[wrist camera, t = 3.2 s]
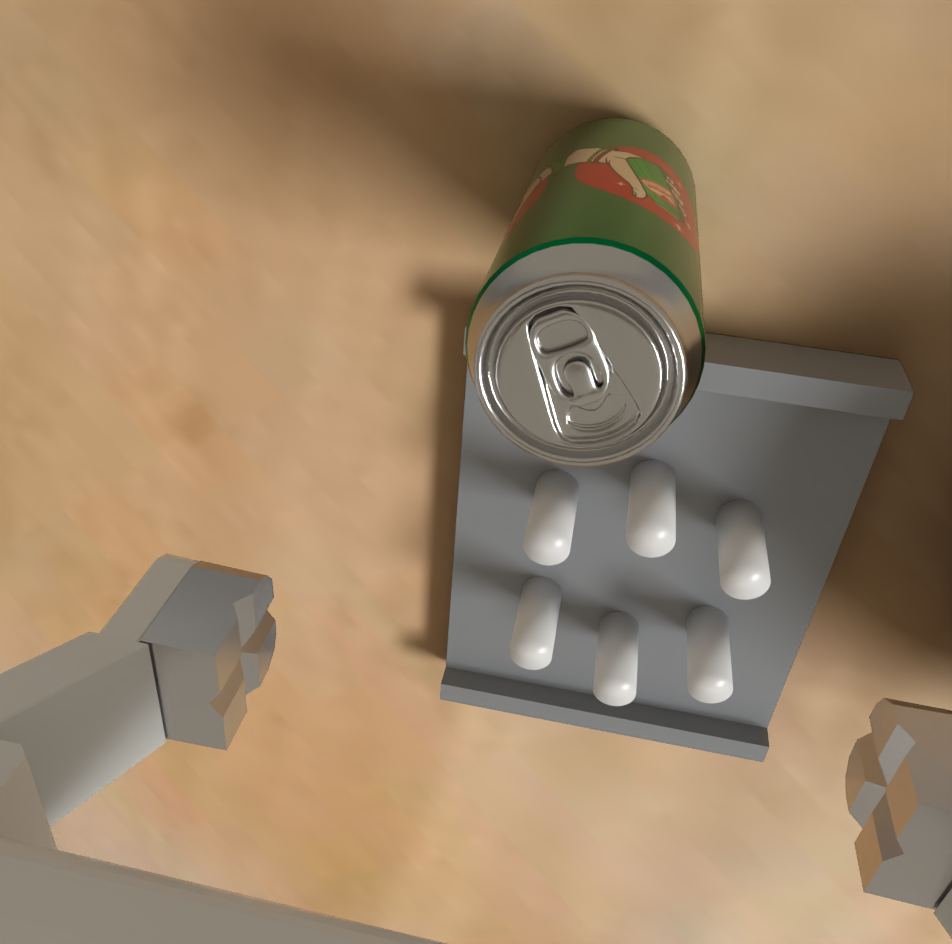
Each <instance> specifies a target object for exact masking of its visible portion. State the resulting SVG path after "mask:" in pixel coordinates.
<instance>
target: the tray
mask: <svg viewBox="0 0 952 944" xmlns="http://www.w3.org/2000/svg"><path fill="white" fill-rule="evenodd" d="M466 326H467V324H466ZM466 326H465V334H464V349H463V355H466V351H465V336H466ZM705 343H706V352H705V363H704V369H703V372H702V376H701V379H700V383H699V385H698V387H697V389H696V391H695V393H694V396H693V398H692V399H691V401H690V402H689V404H688V405H687V406H686V408H685V409H684V411H683V412H682V413H681V414H680V415H679V416H678V417H677V418H676V419H675V421H674V422H673V423H672V424H671V425H670V426H669V427H668V428H667V430H666V431H665V432H664V433H663V434H662V435H661V436H660V437H659V438H658V439H657V440H656V441H654V442H653V443H652V444H650V445H649V446H648V447H646V448H645V449H644V450H642V451H640V452H638V453H636V454H634V455H633V456H631V457H628V458H625V459H623V460H620V461H617V462H614V463H609V464H604V465H598V466H585V467H584V466H568V465H563V464H557V463H553V462H550V461H547V460H544V459H540V458H538V457H536V456H534V455H532V454H530V453H527V452H525V451H524V450H522V449H521V448H519V447H518V446H516V445H515V444H513V443H512V442H511V441H509V440H508V439H507V438H506V437H505V436H504V435H503V434H501V433H500V431H499V430H498V429H497V428H496V427H495V425H494V424H493V423H492V422H491V420H490V419H489V417H488V416H487V414H486V412H485V411H484V409H483V407H482V405H481V402H480V400H479V397H478V395H477V391H476V388H475V386H474V383H473V381H472V379H471V376H470V373H469V369H468V365H467V376H466V390H465V404H464V418H463V432H462V447H461V461H460V475H459V489H458V503H457V517H456V532H455V546H454V560H453V574H452V588H451V602H450V617H449V631H448V645H447V659H446V668H445V672H444V675H443V679H442V682H441V692H440V699H441V700H447V701H452V702H457V703H462V704H467V705H472V706H477V707H483V708H488V709H493V710H498V711H503V712H508V713H513V714H518V715H524V716H529V717H534V718H539V719H544V720H549V721H554V722H560V723H565V724H570V725H575V726H580V727H585V728H590V729H595V730H601V731H606V732H611V733H616V734H621V735H626V736H631V737H637V738H642V739H647V740H652V741H657V742H662V743H667V744H672V745H678V746H683V747H688V748H693V749H698V750H703V751H708V752H714V753H719V754H724V755H729V756H734V757H739V758H744V759H749V760H755V761H760V762H763V761H764V759H765V756H766V754H767V751H768V749H769V741H768V732H767V727H768V725H769V722H770V720H771V717H772V715H773V712H774V710H775V707H776V705H777V702H778V700H779V697H780V695H781V692H782V690H783V687H784V685H785V682H786V680H787V677H788V675H789V672H790V670H791V667H792V664H793V662H794V659H795V657H796V654H797V652H798V649H799V647H800V644H801V642H802V639H803V637H804V634H805V632H806V629H807V627H808V624H809V622H810V619H811V617H812V614H813V612H814V609H815V607H816V604H817V602H818V599H819V597H820V594H821V592H822V589H823V587H824V584H825V582H826V579H827V577H828V574H829V572H830V569H831V567H832V564H833V562H834V559H835V557H836V554H837V552H838V549H839V547H840V544H841V542H842V539H843V537H844V534H845V532H846V529H847V527H848V524H849V522H850V519H851V517H852V514H853V512H854V509H855V507H856V504H857V502H858V499H859V497H860V494H861V492H862V489H863V487H864V484H865V482H866V479H867V477H868V474H869V472H870V469H871V467H872V464H873V462H874V459H875V457H876V454H877V452H878V449H879V447H880V444H881V442H882V439H883V437H884V434H885V432H886V429H887V427H888V424H889V422H890V419H896V420H903V419H904V416H905V414H906V412H907V409H908V407H909V404H910V402H911V399H912V397H913V394H914V391H913V389H912V387H911V385H910V382H909V380H908V378H907V376H906V374H905V372H904V369H903V367H902V365H901V363H900V361H899V360H895V359H888V358H881V357H874V356H867V355H860V354H853V353H845V352H838V351H831V350H824V349H817V348H810V347H803V346H796V345H789V344H782V343H775V342H768V341H761V340H754V339H747V338H740V337H733V336H725V335H718V334H711V333H705Z"/></svg>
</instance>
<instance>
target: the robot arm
mask: <svg viewBox="0 0 952 944" xmlns="http://www.w3.org/2000/svg"><path fill="white" fill-rule="evenodd" d="M273 598H274V593H273V584H272V579H271V578H270V577H268V576H267V575H262V574H258V573H253V572H249V571H244V570H240V569H236V568H231V567H227V566H222V565H218V564H213V563H209V562H204V561H197V560H192V559H188V558H183V557H179V556H175V555H170V554H165V555H163V556H162V557H160V558H158V559H157V560H156V561H155V562H154V563H153V564H152V566H151V567H150V568H149V570H148V571H147V572H146V574H145V575H144V576H143V577H142V579H141V580H140V581H139V583H138V584H137V585H136V587H135V588H134V589H133V590H132V592H131V593H130V594H129V596H128V597H127V598H126V600H125V601H124V602H123V603H122V605H121V606H120V607H119V609H118V610H117V611H116V613H115V614H114V615H113V616H112V618H111V619H110V620H109V622H108V623H107V624H106V626H105V627H104V628H103V629H102V631H101V632H100V633H93V632H87V633H85V634H83V635H81V636H79V637H77V638H75V639H73V640H71V641H69V642H66V643H64V644H62V645H60V646H58V647H56V648H54V649H52V650H50V651H48V652H45V653H43V654H41V655H39V656H37V657H35V658H33V659H31V660H29V661H27V662H25V663H22V664H20V665H18V666H16V667H14V668H12V669H10V670H8V671H6V672H4V673H1V674H0V944H446V943H442V942H438V941H434V940H429V939H425V938H421V937H417V936H413V935H409V934H404V933H400V932H396V931H392V930H388V929H384V928H380V927H375V926H371V925H367V924H363V923H359V922H355V921H351V920H346V919H342V918H338V917H334V916H330V915H326V914H322V913H317V912H313V911H309V910H305V909H301V908H297V907H292V906H288V905H284V904H280V903H276V902H272V901H268V900H263V899H259V898H255V897H251V896H247V895H243V894H239V893H234V892H230V891H226V890H222V889H218V888H214V887H209V886H205V885H201V884H197V883H193V882H189V881H184V880H180V879H176V878H172V877H168V876H164V875H159V874H155V873H151V872H147V871H143V870H139V869H135V868H130V867H126V866H122V865H118V864H114V863H110V862H105V861H101V860H97V859H93V858H89V857H85V856H80V855H76V854H72V853H68V852H64V851H60V850H57V847H56V844H55V841H54V838H53V835H52V832H51V829H50V826H52V825H53V824H54V823H56V822H57V821H59V820H60V819H61V818H63V817H64V816H65V815H67V814H68V813H70V812H71V811H72V810H74V809H75V808H77V807H78V806H79V805H81V804H82V803H83V802H85V801H86V800H88V799H89V798H90V797H92V796H93V795H94V794H96V793H97V792H99V791H100V790H101V789H103V788H104V787H105V786H107V785H108V784H110V783H111V782H112V781H114V780H115V779H116V778H118V777H119V776H121V775H122V774H123V773H125V772H126V771H127V770H129V769H130V768H132V767H133V766H134V765H136V764H137V763H138V762H140V761H141V760H143V759H144V758H145V757H147V756H148V755H149V754H151V753H152V752H154V751H155V750H156V749H158V748H159V747H160V746H162V745H163V744H165V743H166V739H171V740H176V741H181V742H186V743H191V744H197V745H202V746H207V747H212V748H217V749H222V750H227V749H228V747H229V745H230V743H231V741H232V739H233V737H234V735H235V734H236V732H237V730H238V728H239V726H240V724H241V722H242V720H243V718H244V716H245V714H246V713H247V705H246V694H248V693H249V692H251V691H253V690H254V689H256V688H258V687H259V686H260V685H261V683H262V681H263V679H264V677H265V675H266V673H267V671H268V669H269V666H270V662H271V659H272V655H273V652H274V648H275V639H276V622H275V619H274V618H273V617H272V616H271V614H270V613H269V612H268V611H267V609H268V607H269V605H270V603H271V601H272V599H273ZM869 719H870V723H871V728H872V733H870V734H867V735H865V736H863V737H861V738H859V739H857V741H856V743H855V745H854V747H853V750H852V752H851V754H850V756H849V760H848V766H847V771H846V777H845V778H846V798H847V804H848V810H849V813H850V814H851V815H852V816H853V817H854V819H855V820H856V821H857V822H858V823H859V824H860V826H861V827H862V828H863V829H862V831H861V832H860V834H859V836H858V838H857V840H856V841H855V843H854V844H855V849H856V854H857V859H858V865H859V870H860V875H861V880H862V886H863V891H864V892H866V893H870V894H874V895H878V896H882V897H886V898H890V899H894V900H898V901H902V902H906V903H910V904H914V905H918V906H922V907H926V908H930V909H934V910H935V911H934V914H935V916H936V917H937V919H938V920H939V921H940V923H941V924H942V926H943V927H944V928H945V930H946V931H947V933H948V934H949V936H950V937H951V938H952V711H951V710H946V709H941V708H935V707H930V706H925V705H919V704H914V703H909V702H904V701H898V700H893V699H888V698H883V699H882V700H880V701H879V702H878V703H877V704H876V705H875V707H874V709H873V711H872V713H871V714H870V716H869Z"/></svg>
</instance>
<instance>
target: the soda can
mask: <svg viewBox="0 0 952 944" xmlns="http://www.w3.org/2000/svg"><path fill="white" fill-rule="evenodd" d="M465 351H466V361H467V365H468V369H469V373H470V376H471V379H472V381H473V383H474V386H475V388H476V391H477V395H478V397H479V400H480V402H481V405H482V407H483V409H484V411H485V412H486V414H487V416H488V417H489V419H490V420H491V422H492V423H493V424H494V425H495V427H496V428H497V429H498V430H499V431H500V433H501V434H503V435H504V436H505V437H506V438H507V439H508V440H509V441H511V442H512V443H513V444H515V445H516V446H518V447H519V448H521V449H522V450H524V451H525V452H527V453H530V454H532V455H534V456H536V457H538V458H540V459H544V460H547V461H550V462H553V463H557V464H563V465H568V466H584V467H585V466H598V465H604V464H609V463H614V462H617V461H620V460H623V459H625V458H628V457H631V456H633V455H634V454H636V453H638V452H640V451H642V450H644V449H645V448H646V447H648V446H649V445H650V444H652V443H653V442H654V441H656V440H657V439H658V438H659V437H660V436H661V435H662V434H663V433H664V432H665V431H666V430H667V428H668V427H669V426H670V425H671V424H672V423H673V422H674V421H675V419H676V418H677V417H678V416H679V415H680V414H681V413H682V412H683V411H684V409H685V408H686V406H687V405H688V404H689V402H690V401H691V399H692V398H693V396H694V393H695V391H696V389H697V387H698V385H699V383H700V379H701V376H702V372H703V369H704V363H705V352H706V343H705V328H704V313H703V298H702V283H701V268H700V253H699V238H698V223H697V208H696V194H695V184H694V180H693V176H692V172H691V170H690V168H689V165H688V163H687V161H686V159H685V157H684V156H683V154H682V153H681V151H680V150H679V148H678V147H677V146H676V145H675V144H674V143H673V142H672V141H671V140H670V139H669V138H668V137H666V136H665V135H664V134H663V133H661V132H660V131H658V130H657V129H655V128H653V127H651V126H649V125H647V124H644V123H641V122H638V121H635V120H629V119H622V118H606V119H601V120H595V121H591V122H589V123H586V124H583V125H580V126H578V127H576V128H575V129H573V130H571V131H569V132H567V133H566V134H565V135H563V136H562V137H561V138H560V139H558V140H557V141H556V142H555V143H554V144H553V145H552V146H551V147H550V148H549V150H548V151H547V152H546V154H545V155H544V157H543V158H542V159H541V161H540V163H539V165H538V167H537V169H536V171H535V173H534V175H533V178H532V180H531V182H530V184H529V186H528V188H527V190H526V193H525V195H524V197H523V199H522V201H521V203H520V205H519V208H518V210H517V212H516V214H515V216H514V218H513V220H512V223H511V225H510V227H509V229H508V231H507V233H506V235H505V238H504V240H503V242H502V244H501V246H500V248H499V250H498V252H497V255H496V257H495V259H494V261H493V263H492V265H491V267H490V270H489V272H488V274H487V276H486V278H485V280H484V282H483V285H482V287H481V289H480V291H479V293H478V295H477V297H476V300H475V302H474V304H473V306H472V308H471V311H470V315H469V318H468V322H467V326H466V336H465Z"/></svg>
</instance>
